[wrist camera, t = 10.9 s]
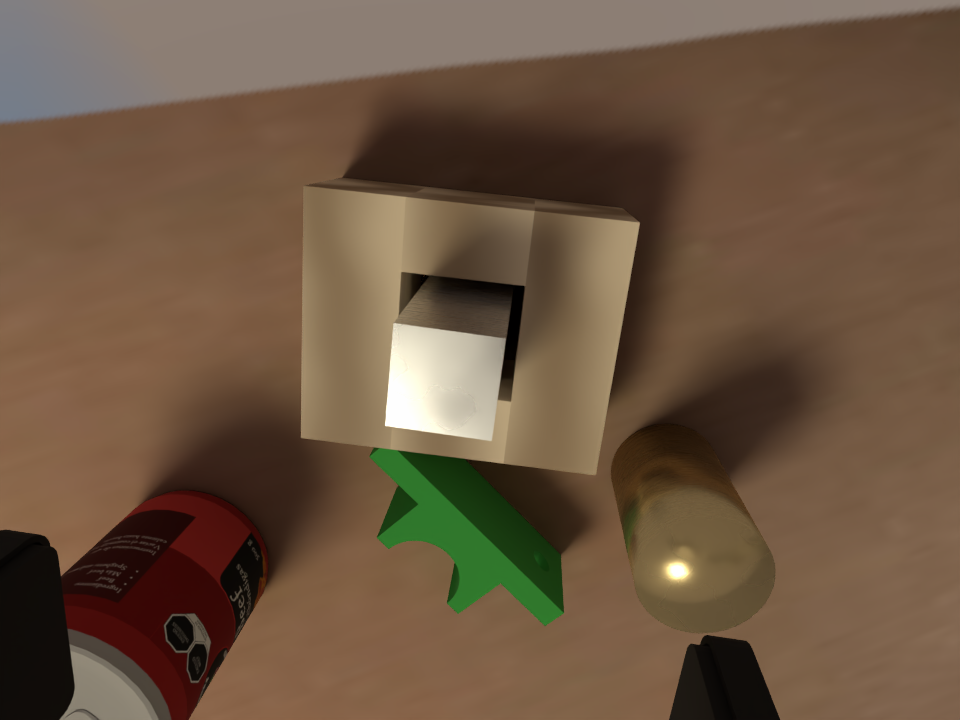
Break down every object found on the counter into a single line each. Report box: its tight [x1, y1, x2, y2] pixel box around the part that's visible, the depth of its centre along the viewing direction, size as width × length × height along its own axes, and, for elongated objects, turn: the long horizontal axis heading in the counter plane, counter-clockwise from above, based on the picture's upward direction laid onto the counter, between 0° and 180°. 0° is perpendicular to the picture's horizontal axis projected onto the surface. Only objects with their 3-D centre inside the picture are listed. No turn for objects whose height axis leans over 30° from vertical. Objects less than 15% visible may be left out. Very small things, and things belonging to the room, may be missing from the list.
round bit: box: [611, 424, 775, 633], centre depth 28 cm, size 5×5×8 cm
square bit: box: [385, 275, 514, 441], centre depth 25 cm, size 3×3×10 cm
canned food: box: [60, 490, 268, 720], centre depth 30 cm, size 8×8×11 cm
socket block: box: [301, 178, 640, 475], centre depth 27 cm, size 12×10×5 cm
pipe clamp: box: [369, 447, 564, 626], centre depth 31 cm, size 11×4×5 cm, turn 43°
